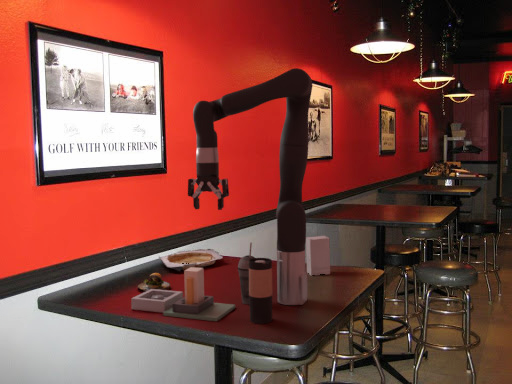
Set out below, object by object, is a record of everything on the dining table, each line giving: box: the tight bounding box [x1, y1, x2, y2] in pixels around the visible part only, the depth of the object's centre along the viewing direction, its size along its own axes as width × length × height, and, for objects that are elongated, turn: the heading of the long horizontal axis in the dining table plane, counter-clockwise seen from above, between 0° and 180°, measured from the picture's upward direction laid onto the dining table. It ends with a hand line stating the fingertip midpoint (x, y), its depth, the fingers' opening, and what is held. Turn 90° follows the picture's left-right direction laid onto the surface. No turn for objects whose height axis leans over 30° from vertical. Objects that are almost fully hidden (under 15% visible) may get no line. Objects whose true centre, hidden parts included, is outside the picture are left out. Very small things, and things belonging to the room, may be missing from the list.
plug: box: [183, 267, 205, 305], centre depth 167 cm, size 4×6×12 cm
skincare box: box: [305, 235, 331, 277], centre depth 213 cm, size 8×6×15 cm
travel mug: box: [248, 257, 273, 325], centre depth 157 cm, size 7×7×18 cm
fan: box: [130, 289, 184, 314], centre depth 176 cm, size 16×18×4 cm
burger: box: [136, 268, 172, 292], centre depth 194 cm, size 12×12×8 cm
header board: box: [162, 295, 236, 322], centre depth 167 cm, size 18×14×4 cm
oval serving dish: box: [158, 248, 223, 272], centre depth 234 cm, size 32×4×23 cm
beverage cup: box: [237, 242, 256, 305], centre depth 175 cm, size 7×7×20 cm
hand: (208, 209), depth 181 cm, fingers open, 8 cm apart
